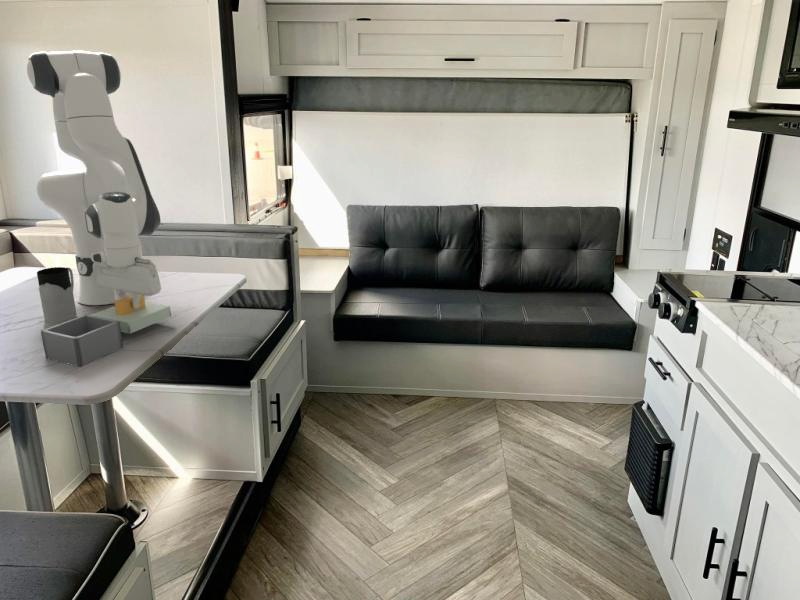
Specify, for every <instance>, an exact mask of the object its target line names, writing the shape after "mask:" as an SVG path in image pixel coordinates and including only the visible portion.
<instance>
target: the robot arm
mask: <svg viewBox="0 0 800 600" xmlns="http://www.w3.org/2000/svg"><path fill="white" fill-rule="evenodd" d="M119 66H120V65H118V62H117V60H116V58H114V56H112V54H108V53H105V52H100V51H98V52H92V51H84V50H71V51H67V50H66V51H65V50H63V51H49V52H46V51H38V52H32V53H31V55H30V56H29V57H28V62H27V66H26V74H27V76H28V80H29V82H30V83H31V85H32V87H33V89H34V90H36V91H37V92H38V93H40V94H43V95H47V96H50V97H51V98H52V112H53V120H54V125H55V131H56V138H57V142H58V147H59V148H60V150H61V151H62V152H63V153H64V154H66V155H68V156H70V157H72V158H75V159H77V160H79V161H81V162H82V163H83V164H84V165H85V167H86V169H69V170H67V169H66V170H63V169H62V170H56V171H51V172H47V173H43V174H42V175H41V176H40V177H39V178H38V181H37V184H36V192H37V196H38V198H39V200H40V201H41V202H42V203H43V204H44V206H46V207H47V208H49V209H51V210H52V211H54V212H56V213H57V214H59V215H60V217H61V218H62V219H63V220H64V221H65V222H66V224H67V225H68V227H69V229H70V232H71V234H72V235H71V236H72V237H73V238H72V239H73V243H74V247H75V253H76V254H75V262H76V263H75V264H76V269H77V272H78V278H79V279H78V281H79V282H78V283H79V285H78V290H79V291H78V297H77V302H78V303H79V304H82V305H86V306H101V305H103V306H105V305H111V304H115V301H118V300H121V299H123V298H126V297H129V296H134V297H133V301H130V304H131V307H132V308H138V307H140V302H139V300H140V298H141V296H142V295H144V296H148V297H149V296H150V297H151V296H154V295H157V294H160V293H161V290H162V285H161V281H160V276H159V272H158V269H157V268H156V266H157V265H156V264H154V262H153V261H152V260H151V259H145V258H143V252H142V245H141V244H142V243H141V240H140V237H139V236H151V235H153V234H154V233H155V232H156V230H158V228H159V226H161V222H162V221H161V215H160V211H159V209H158V207H157V204H156V201H155V200H154V197H153V195H152V192H151V190H150V187H149V184H148V182H147V179H146V176H145V173H144V170H143V167H142V165H141V164H142V163H141V162H140V159H139V157H138V154H137V152H136V150H135V147H134V145H133V143H132V141H131V140H130V139H128V138H126V137H125V136H124V135H122V133H121V131H119V128H118V127H117V125H116V122H115V118H114V112H113V108H112V104H111V101H110V97H109V95H110V94H111V95H112V94H113V93H115V92H116V91H117V90H118V89H120V87H121V86H120V85H121V80H122V79H121V78H122V74H121V68H120V67H119ZM118 165H119V166H118Z"/></svg>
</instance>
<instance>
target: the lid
mask: <svg viewBox="0 0 800 600" xmlns="http://www.w3.org/2000/svg"><path fill="white" fill-rule="evenodd" d="M133 297H134V296H129V297H126V298H123V299H121V300H118V301H115V303H114V306H111V307H108V308H106V309H103V310H101V311H97V312H94V313H91V314H90V315H91V316H96V317H101V318H105V319H110V320H115V321H120V328H121V333H126V334H128V335H129V334H132V333H135V332H137V331H140V330H142V329H144V328H145V329H146V328H147V327H149V326H151V325H154V324H157V323H159V322H161V321H164V320H165V319H169V318H171V317H172V311H171V305H167V304H166V305H165V304H162V303H157V302H155V303H154V302H150V301H145V295H142V296H141V298H140V300H139V302H140V307H138V308H132V307H131V304H130V301H133Z"/></svg>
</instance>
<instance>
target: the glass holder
mask: <svg viewBox="0 0 800 600" xmlns="http://www.w3.org/2000/svg"><path fill="white" fill-rule="evenodd" d="M36 275H37V281H38V282H37V283H38V287H39V288H38V291H39V295H40V302H41V307H42V313H43V318H44V324H43V327H44V328H45V329H47V328H50V327H53V326H56V325H58V324H61V323H64V322H67V321H69V320H72V319H75V318H78V317H79V316H78V313H77V310H76V309H77V308H76V302H75V298H74V285H75V284H74V283H75V281H74V273H73V270H72V268H71V267H62V266H59V267H58V266H57V267H56V266H55V267H48V268H47V267H46V268H42V269H40V270H38V271H37V272H36Z"/></svg>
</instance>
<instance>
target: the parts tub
mask: <svg viewBox="0 0 800 600" xmlns="http://www.w3.org/2000/svg"><path fill="white" fill-rule="evenodd" d="M77 317H78V318H75V319H72V320H69V321H67V322H64V323H61V324H58V325H56V326H53V327H50V328H45V329H42V330H40V336H41V340H42V345H43V349H44V355H45V359H47V358H50V359H49V360H51V359H53V360H52V361H55V360H57V362H59V361H60V362H61V363H63V362H64V363H63V364H67V363H69V364H68V365H71V364H72V366H75V365H76V367H80V368H81V367H82V366H86V365H88V364H90V363H92V362H95V361H97V360H98V358H99V359H101V358H103V357H105V355H106V356H108V355H110V354H112V353H115V352H116V350H117V351H119V350H121V349H123V348H124V342H123V336H122V332H121V328H120V321H115V320H110V319H105V318H101V317H96V316H91V314H83V315H81V316H77ZM118 349H119V350H118ZM114 351H115V352H114ZM109 353H110V354H109ZM107 354H108V355H107ZM100 357H101V358H100ZM96 359H97V360H96ZM94 360H95V361H94ZM89 362H90V363H89ZM87 363H88V364H87ZM85 364H86V365H85Z"/></svg>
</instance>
